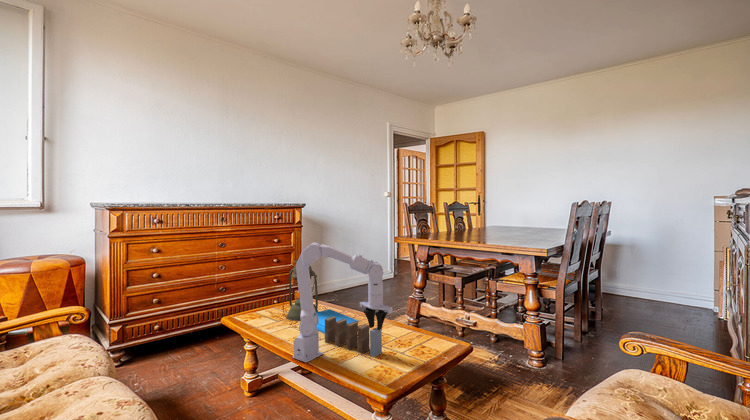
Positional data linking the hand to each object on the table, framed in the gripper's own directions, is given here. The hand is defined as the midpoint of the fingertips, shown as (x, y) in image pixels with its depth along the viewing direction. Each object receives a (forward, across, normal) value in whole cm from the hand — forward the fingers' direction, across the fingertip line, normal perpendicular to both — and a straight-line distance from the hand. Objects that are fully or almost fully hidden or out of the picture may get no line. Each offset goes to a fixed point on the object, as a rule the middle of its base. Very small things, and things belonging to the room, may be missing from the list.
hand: (375, 328), depth 139 cm
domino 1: (+10, +24, 0) cm, 26 cm away
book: (+11, +38, -15) cm, 42 cm away
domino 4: (+10, +6, 0) cm, 12 cm away
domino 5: (+10, 0, 0) cm, 10 cm away
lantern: (+11, +60, -18) cm, 63 cm away
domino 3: (+10, +12, 0) cm, 16 cm away
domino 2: (+10, +18, 0) cm, 21 cm away
